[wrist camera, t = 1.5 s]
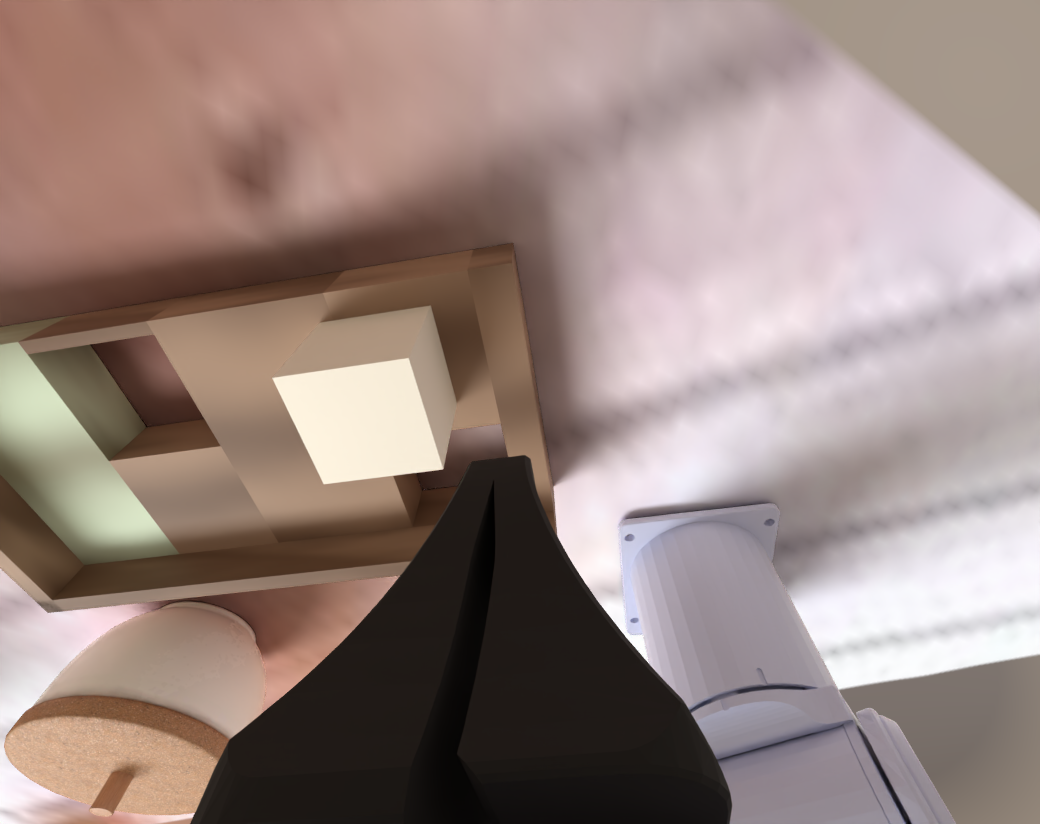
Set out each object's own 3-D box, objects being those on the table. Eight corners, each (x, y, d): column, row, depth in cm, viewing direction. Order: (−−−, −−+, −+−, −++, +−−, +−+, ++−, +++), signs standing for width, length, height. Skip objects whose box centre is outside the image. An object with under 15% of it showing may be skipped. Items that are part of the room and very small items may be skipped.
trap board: (553, 487, 25) (558, 558, 21) (114, 539, 27) (48, 612, 23) (513, 242, 19) (510, 282, 15) (-58, 336, 21) (-188, 392, 17)
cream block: (456, 403, 19) (443, 469, 16) (357, 416, 20) (323, 484, 16) (430, 305, 17) (408, 358, 14) (319, 322, 18) (272, 378, 14)
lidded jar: (123, 551, 28) (-37, 735, 20) (314, 611, 30) (241, 794, 23) (105, 650, 33) (-28, 829, 25) (270, 694, 36) (198, 867, 28)
